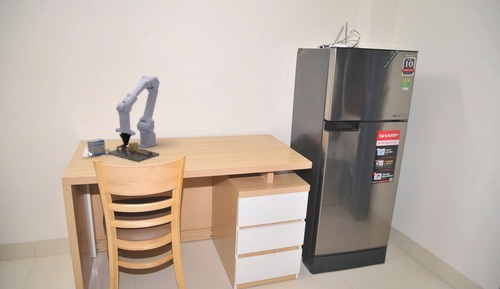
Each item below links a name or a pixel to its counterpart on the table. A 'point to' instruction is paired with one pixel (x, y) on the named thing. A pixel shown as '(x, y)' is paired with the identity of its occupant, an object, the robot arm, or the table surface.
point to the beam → (134, 151)
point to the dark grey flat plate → (132, 154)
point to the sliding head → (132, 147)
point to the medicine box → (96, 147)
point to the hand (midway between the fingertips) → (126, 145)
